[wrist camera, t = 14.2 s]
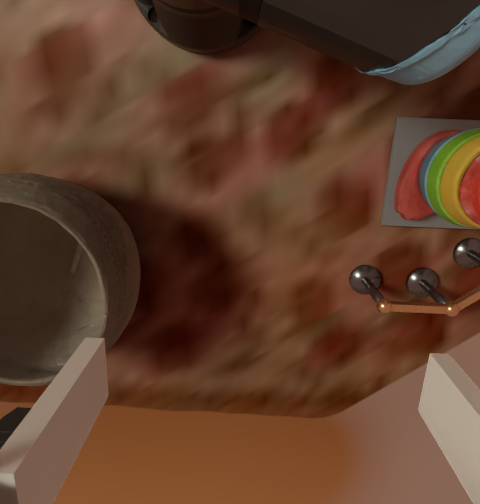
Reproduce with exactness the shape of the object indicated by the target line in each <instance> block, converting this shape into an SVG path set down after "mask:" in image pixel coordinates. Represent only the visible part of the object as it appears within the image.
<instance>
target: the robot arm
mask: <svg viewBox="0 0 480 504" xmlns="http://www.w3.org/2000/svg"><path fill="white" fill-rule="evenodd" d="M135 3H136V5H137V7H138V8H139V10H140V12H141V13H142V15H143V16H144V18H145V19H146V20H147V22H148V23H149V24H150V25H151V26H152V27H153V28H154V29H155V30H156V31H157V32H158V33H159V34H160V35H161V36H162V37H163V38H165V39H166V40H167V41H169V42H170V43H172V44H173V45H175V46H177V47H179V48H181V49H184V50H187V51H190V52H194V53H200V54H215V53H221V52H225V51H228V50H231V49H234V48H236V47H238V46H240V45H242V44H243V43H245V42H246V41H248V40H249V39H250V38H251V37H253V36H254V35H255V34H256V33H257V32H258V31H259V30H260V28H261V27H263V28H265V29H268V30H270V31H272V32H275V33H277V34H279V35H282V36H284V37H286V38H288V39H291V40H293V41H295V42H298V43H300V44H302V45H305V46H307V47H309V48H311V49H314V50H316V51H318V52H321V53H323V54H325V55H327V56H330V57H332V58H334V59H337V60H339V61H341V62H344V63H346V64H348V65H350V66H353V67H354V68H355V69H356V70H358V71H359V72H361V73H363V74H365V73H366V74H368V75H378V76H381V77H383V78H386V79H389V80H392V81H394V82H397V83H400V84H405V85H418V84H423V83H426V82H429V81H432V80H435V79H437V78H439V77H441V76H443V75H444V74H446V73H448V72H450V71H451V70H453V69H454V68H456V67H457V66H458V65H460V64H461V63H462V62H464V61H465V60H466V59H467V58H469V57H470V56H471V55H472V54H473V53H475V52H476V51H477V50H478V49H479V48H480V0H135ZM107 398H108V381H107V367H106V352H105V338H88V337H86V338H85V339H84V340H83V342H82V343H81V344H80V345H79V347H78V348H77V349H76V351H75V352H74V353H73V355H72V356H71V357H70V359H69V360H68V361H67V363H66V364H65V365H64V366H63V368H62V369H61V370H60V372H59V373H58V374H57V376H56V377H55V378H54V380H53V381H52V382H51V384H50V385H49V386H48V387H47V389H46V390H45V391H44V393H43V394H42V395H41V397H40V398H39V399H38V401H37V402H36V403H35V405H34V406H33V407H32V408H20V407H19V408H18V407H17V408H16V409H14V410H13V411H12V412H10V413H8V414H7V415H6V416H4V417H3V418H2V419H1V420H0V504H53V503H54V501H55V499H56V497H57V495H58V493H59V491H60V489H61V487H62V485H63V483H64V481H65V479H66V477H67V476H68V474H69V472H70V470H71V467H72V466H73V464H74V462H75V460H76V458H77V456H78V454H79V452H80V450H81V448H82V446H83V444H84V443H85V440H86V438H87V437H88V435H89V433H90V431H91V429H92V427H93V425H94V423H95V421H96V419H97V417H98V415H99V413H100V411H101V409H102V408H103V406H104V404H105V402H106V400H107ZM418 411H419V413H420V414H421V416H422V418H423V420H424V421H425V423H426V425H427V426H428V428H429V430H430V431H431V433H432V435H433V437H434V438H435V440H436V442H437V443H438V445H439V447H440V448H441V450H442V452H443V454H444V455H445V457H446V459H447V460H448V462H449V464H450V465H451V467H452V469H453V470H454V472H455V474H456V475H457V477H458V479H459V480H460V482H461V484H462V486H463V487H464V489H465V491H466V492H467V494H468V496H469V498H470V499H471V501H472V503H473V504H480V389H479V388H478V387H477V386H476V385H475V384H474V382H473V381H472V380H471V379H470V378H469V377H468V375H467V374H466V373H465V372H464V371H463V370H462V369H461V367H460V366H459V365H458V364H457V363H456V362H455V360H454V359H453V358H452V357H451V356H450V355H449V354H436V353H430V355H429V360H428V365H427V370H426V374H425V379H424V384H423V389H422V394H421V398H420V403H419V408H418Z"/></svg>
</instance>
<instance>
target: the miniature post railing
mask: <svg viewBox="0 0 480 504" xmlns="http://www.w3.org/2000/svg"><path fill="white" fill-rule="evenodd" d="M453 257H454V260H455V262H456V263H457V264H459V265H460V266H462V267H464V268H473V267H476V266H478V265H479V264H480V240H478V239H475V238H466V239H464V240H462V241H460V242H459V243H458V244H457V245H456V247H455V248H454V251H453ZM349 281H350V285H351V287H352V288H353V290H354V291H356V292H357V293H360V294H370V295H371V296H372V298H373V299H374V301H375V302H376V303H377V304H376V307H377V310H378V311H379V312H380V313H383V314H386V313H389V312H390V311H394V312H416V313H438V314H446V315H447V316H450V317H454V316H456V315H458V313H459V311H460V310H462V309H463V308H465V307H467V306H468V305H470V304H472V303H474V302H475V301H477V300H479V299H480V286H478V287H476V288H475V289H473V290H471V291H470V292H468V293H466V294H465V295H463V296H461V297H459V298H458V299H456V300H454V301H453V302H452V301H449V300H448V299H447V298H446V297H444V296H443V295H442V294H441V293H440V292H439V291H438V290H436V287H437V285H438V278H437V276H436V274H435V273H434V272H433V271H431V270H430V269H428V268H417V269H415V270H413V271H412V272H411V273H410V274H409V275H408V277H407V280H406V286H407V288H408V290H409V291H410V292H411V293H412V294H413V295H415V296H418V297H424V296H427V295H430V296H431V297H432V298H433V299H434V300H435V301H436V302H437V303H419V302H397V301H390V300H388V299H386V298H384V297H383V296H382V294H381V293H380V292H379V291H378V289H377V288H378V286H379V284H380V275H379V273H378V271H377V270H376V269H375V268H373V267H372V266H369V265H362V266H359V267H357V268H355V269H354V270H353V271H352V273H351V275H350V278H349Z"/></svg>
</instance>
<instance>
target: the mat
mask: <svg viewBox="0 0 480 504" xmlns="http://www.w3.org/2000/svg"><path fill="white" fill-rule="evenodd" d="M475 128H480V120H459V119H435V118H411V117H396V123H395V130H394V137H393V144H392V150H391V157H390V164H389V170H388V177H387V184H386V190H385V197H384V204H383V210H382V217H381V225H389V226H412V227H434V228H457V229H477V228H467V227H462V226H458V225H455V224H452V223H450V222H448V221H446V220H444V219H443V218H441V217H440V216H438V215H437V214H436V213H434V214H431V215H429V216H426V217H424V218H422V219H419V220H411V219H410V220H407V219H403V218H402V217H401V215H400V213H397V212H396V211H395V206H394V198H395V189H396V185H397V181H398V178H399V175H400V173H401V170H402V168H403V166H404V164H405V162H406V161H407V159H408V157H409V156H410V155H411V153H412V152H413V150H414V149H415V148H416V147H417V146H418V145H419V144H420V143H421V142H422V141H423V140H424V139H426V138H427V137H429V136H430V135H432V134H434V133H437V132H440V131H444V130H462V131H465V130H470V129H475Z"/></svg>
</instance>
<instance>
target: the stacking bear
mask: <svg viewBox="0 0 480 504" xmlns="http://www.w3.org/2000/svg"><path fill="white" fill-rule="evenodd" d="M394 206H395V211H396V212H397V213H400V215H401V217H402V218H403V219H407V220H410V219H411V220H419V219H422V218H424V217H426V216H429V215H431V214H434V213H436V214H437V215H438V216H440V217H441V218H443V219H444V220H446V221H448V222H450V223H452V224H455V225H458V226H462V227H467V228H477V229H480V128H475V129H470V130H465V131H462V130H444V131H440V132H437V133H434V134H432V135H430V136H429V137H427V138H426V139H424V140H423V141H422V142H421V143H420V144H419V145H418V146H417V147H416V148H415V149H414V150H413V152H412V153H411V155H410V156H409V157H408V159H407V161H406V162H405V164H404V166H403V168H402V170H401V173H400V175H399V178H398V181H397V185H396V189H395V198H394Z"/></svg>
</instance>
